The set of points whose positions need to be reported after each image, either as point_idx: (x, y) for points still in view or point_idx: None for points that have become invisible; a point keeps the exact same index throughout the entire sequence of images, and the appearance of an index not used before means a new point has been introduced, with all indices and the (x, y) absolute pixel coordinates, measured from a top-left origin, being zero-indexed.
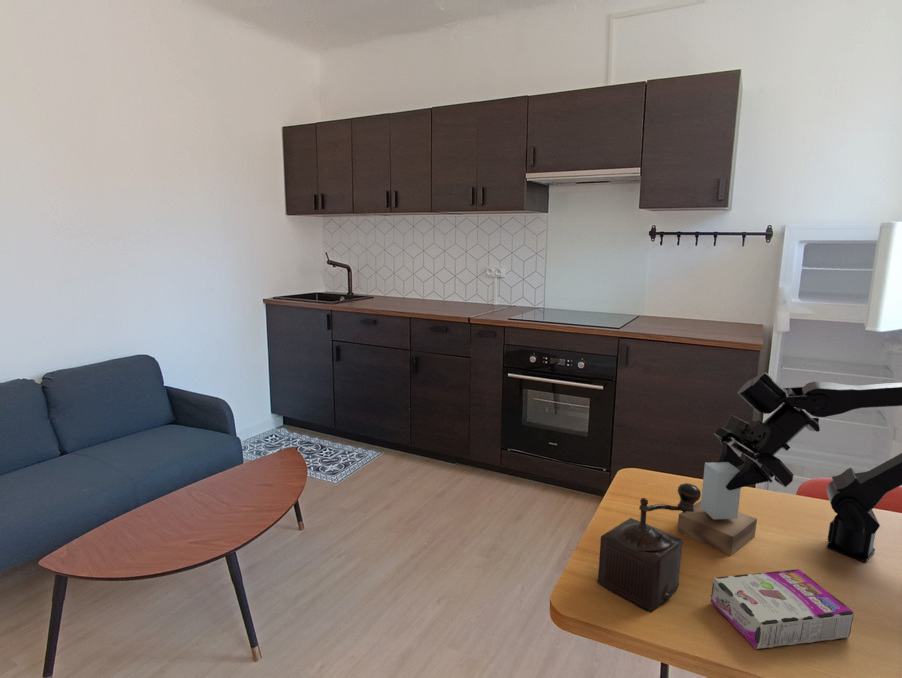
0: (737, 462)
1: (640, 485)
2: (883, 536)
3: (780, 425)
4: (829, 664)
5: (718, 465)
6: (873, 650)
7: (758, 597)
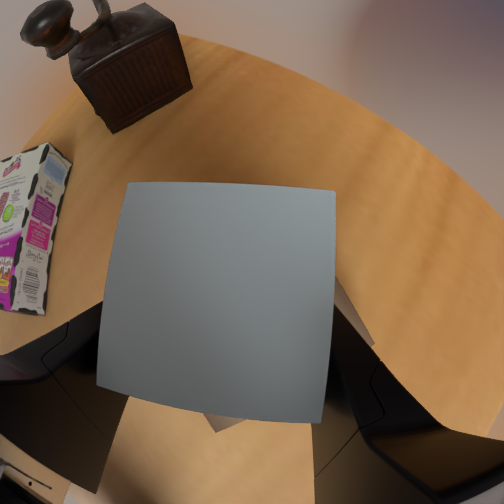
0: (322, 499)
1: (493, 255)
2: None
3: None
4: None
5: (257, 274)
6: None
7: (5, 183)
